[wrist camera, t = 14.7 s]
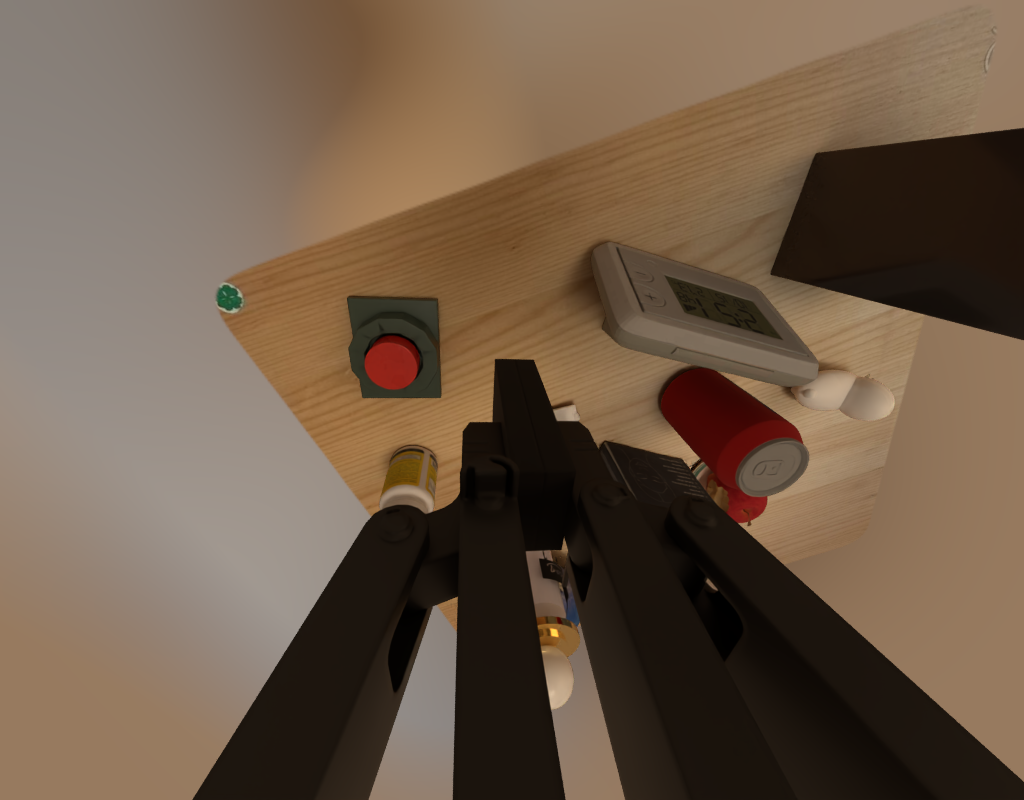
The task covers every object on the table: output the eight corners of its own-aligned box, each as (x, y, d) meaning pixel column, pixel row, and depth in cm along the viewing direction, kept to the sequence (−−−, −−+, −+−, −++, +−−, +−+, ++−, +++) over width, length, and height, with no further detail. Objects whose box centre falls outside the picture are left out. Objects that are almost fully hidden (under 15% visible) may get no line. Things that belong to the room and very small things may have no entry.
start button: (366, 334, 29) (361, 342, 28) (418, 335, 30) (415, 343, 28) (372, 380, 31) (367, 389, 30) (421, 380, 32) (419, 389, 30)
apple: (694, 510, 47) (726, 554, 41) (676, 469, 43) (708, 511, 37) (755, 482, 45) (797, 523, 40) (742, 437, 42) (786, 475, 36)
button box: (348, 295, 30) (339, 303, 27) (437, 298, 30) (435, 306, 28) (364, 394, 34) (357, 408, 32) (441, 394, 35) (439, 407, 33)
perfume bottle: (508, 521, 44) (537, 735, 26) (481, 492, 41) (493, 708, 24) (550, 499, 43) (609, 706, 25) (525, 467, 40) (571, 675, 23)
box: (578, 484, 42) (608, 564, 33) (603, 438, 39) (644, 511, 30) (655, 500, 45) (703, 578, 36) (684, 459, 42) (744, 531, 33)
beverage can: (710, 421, 40) (797, 501, 29) (650, 423, 39) (718, 506, 29) (729, 363, 37) (835, 430, 26) (665, 365, 36) (747, 434, 25)
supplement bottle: (381, 465, 38) (361, 530, 31) (408, 436, 37) (395, 496, 29) (419, 487, 40) (409, 553, 33) (447, 460, 39) (443, 522, 31)
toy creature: (837, 401, 41) (895, 433, 35) (772, 400, 39) (821, 433, 34) (859, 362, 38) (924, 390, 33) (790, 360, 37) (846, 388, 32)
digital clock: (759, 293, 33) (872, 330, 24) (695, 375, 37) (772, 436, 28) (615, 200, 28) (688, 202, 19) (557, 306, 32) (595, 351, 23)
